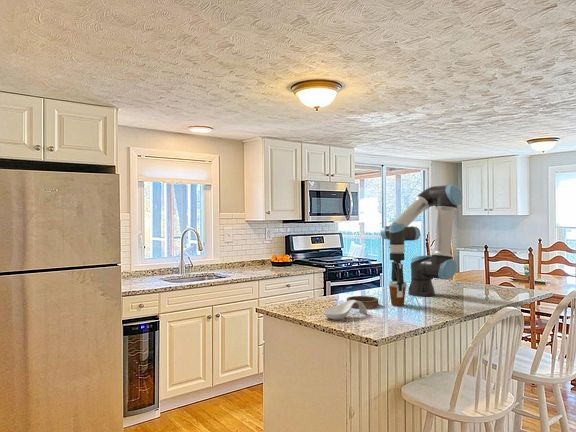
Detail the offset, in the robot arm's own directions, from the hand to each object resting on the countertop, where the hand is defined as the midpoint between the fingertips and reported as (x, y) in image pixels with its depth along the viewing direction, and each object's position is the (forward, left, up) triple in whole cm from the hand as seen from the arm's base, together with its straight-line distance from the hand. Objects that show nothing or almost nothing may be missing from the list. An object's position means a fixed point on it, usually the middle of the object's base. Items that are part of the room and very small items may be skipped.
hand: (397, 295), depth 229 cm
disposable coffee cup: (0, 0, -5) cm, 5 cm away
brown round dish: (+13, -13, -5) cm, 19 cm away
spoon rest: (+39, -4, -6) cm, 40 cm away
